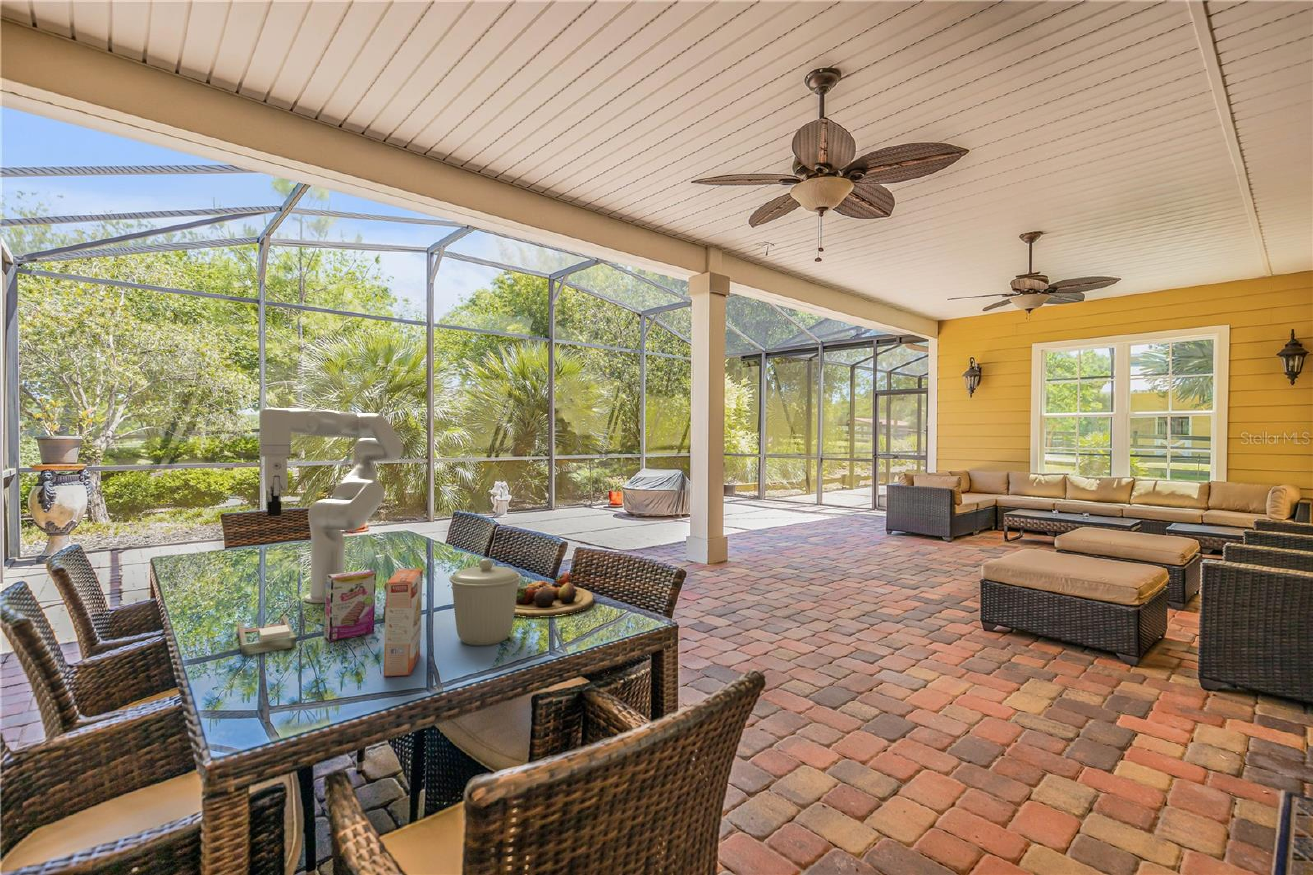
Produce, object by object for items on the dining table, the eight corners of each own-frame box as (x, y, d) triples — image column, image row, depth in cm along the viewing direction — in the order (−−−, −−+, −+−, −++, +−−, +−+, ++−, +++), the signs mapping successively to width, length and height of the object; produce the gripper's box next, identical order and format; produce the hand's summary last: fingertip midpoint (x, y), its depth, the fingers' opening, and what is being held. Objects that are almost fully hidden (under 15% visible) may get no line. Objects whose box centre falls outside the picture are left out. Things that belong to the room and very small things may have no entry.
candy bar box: (329, 642, 154) (331, 578, 154) (323, 638, 158) (324, 574, 158) (375, 633, 162) (376, 571, 162) (368, 629, 166) (369, 568, 166)
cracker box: (411, 676, 134) (413, 581, 134) (382, 678, 133) (384, 582, 133) (422, 654, 148) (423, 567, 148) (395, 655, 147) (397, 568, 147)
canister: (496, 655, 148) (497, 568, 148) (433, 646, 153) (434, 562, 153) (532, 632, 165) (534, 555, 165) (474, 625, 171) (475, 550, 171)
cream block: (286, 640, 156) (286, 624, 156) (289, 647, 151) (289, 631, 151) (258, 644, 153) (259, 628, 153) (260, 651, 148) (261, 635, 148)
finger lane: (285, 623, 170) (285, 614, 170) (295, 646, 151) (296, 636, 151) (237, 629, 163) (237, 620, 163) (242, 655, 145) (242, 645, 144)
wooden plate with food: (545, 586, 217) (545, 563, 217) (614, 601, 198) (614, 576, 198) (470, 608, 191) (469, 581, 191) (540, 627, 172) (540, 598, 172)
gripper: (293, 452, 171) (292, 517, 171) (287, 450, 183) (286, 512, 183) (261, 452, 166) (260, 519, 166) (257, 450, 178) (256, 513, 178)
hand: (274, 515), depth 174 cm, fingers closed
